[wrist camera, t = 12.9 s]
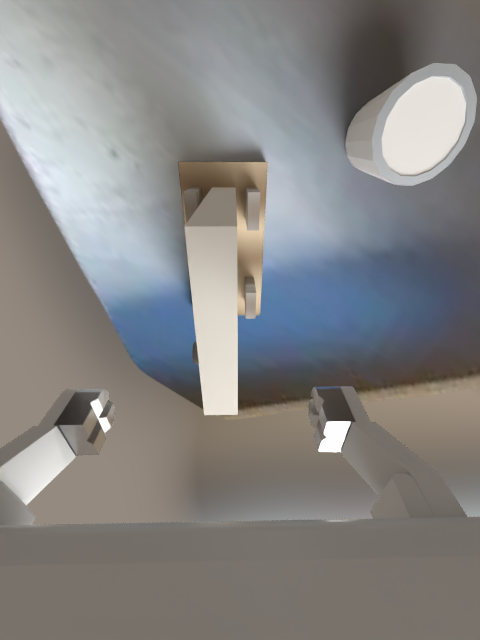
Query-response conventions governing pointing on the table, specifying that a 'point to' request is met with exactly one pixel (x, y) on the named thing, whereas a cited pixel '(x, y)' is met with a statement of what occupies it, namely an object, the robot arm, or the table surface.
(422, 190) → the table surface
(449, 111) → the white cup
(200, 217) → the rectangular slab
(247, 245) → the peg board base
